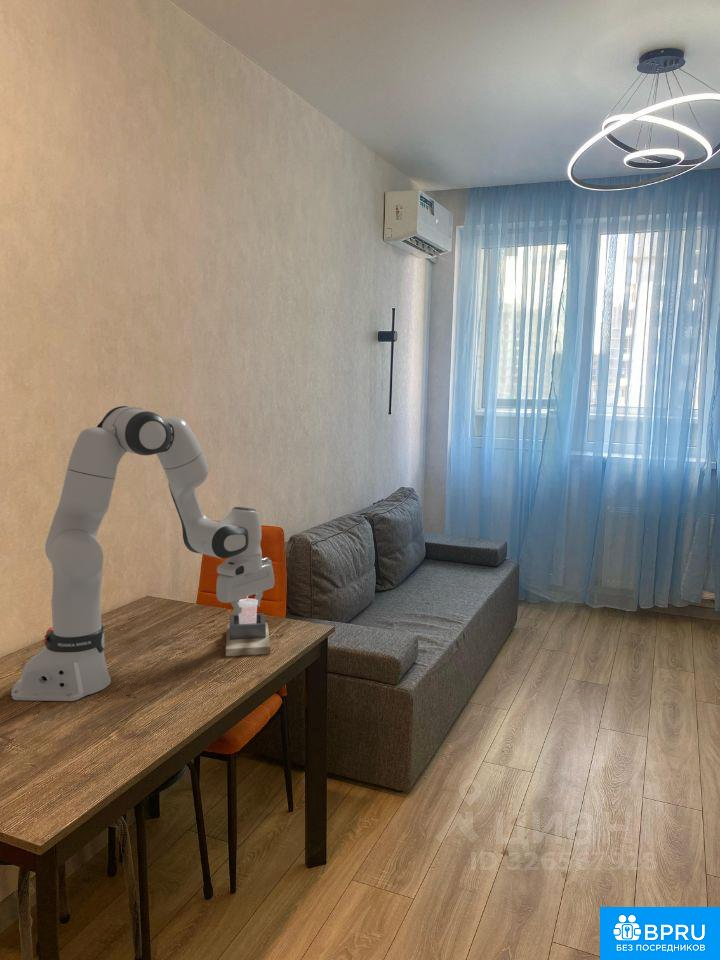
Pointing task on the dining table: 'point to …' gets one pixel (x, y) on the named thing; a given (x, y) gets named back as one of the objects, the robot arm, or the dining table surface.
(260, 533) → the robot arm
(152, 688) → the dining table surface
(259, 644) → the socket board
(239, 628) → the cup collar
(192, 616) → the dining table surface
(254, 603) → the beverage cup
